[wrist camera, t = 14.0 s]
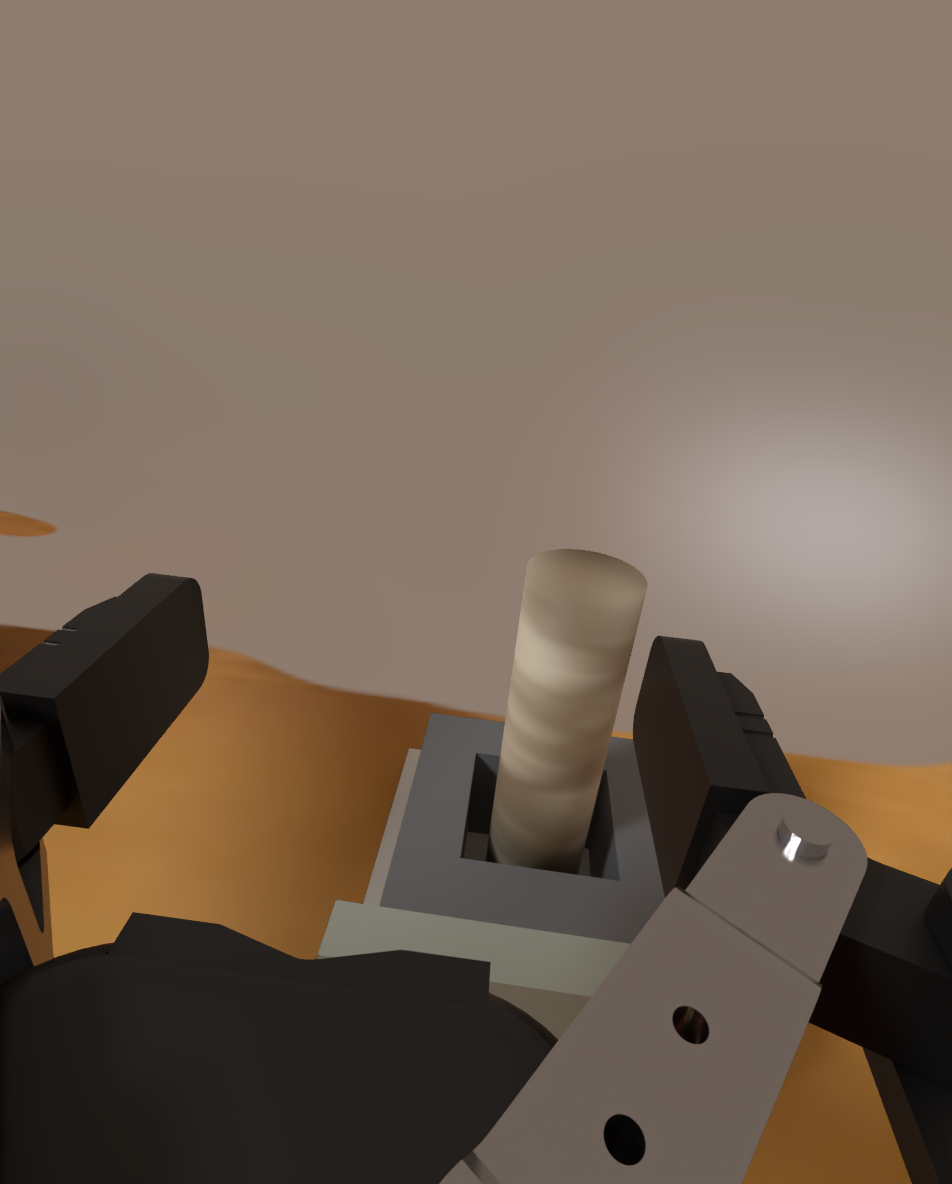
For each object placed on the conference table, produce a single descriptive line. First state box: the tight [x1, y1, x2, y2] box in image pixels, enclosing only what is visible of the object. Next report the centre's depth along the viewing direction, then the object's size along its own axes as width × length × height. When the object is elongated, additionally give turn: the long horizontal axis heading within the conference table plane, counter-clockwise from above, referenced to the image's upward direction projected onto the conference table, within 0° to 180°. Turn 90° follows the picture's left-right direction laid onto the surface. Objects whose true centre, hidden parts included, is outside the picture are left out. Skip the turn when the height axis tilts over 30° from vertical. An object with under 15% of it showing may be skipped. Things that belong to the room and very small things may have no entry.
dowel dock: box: [318, 713, 665, 1040], centre depth 28 cm, size 14×16×6 cm
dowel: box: [485, 549, 647, 875], centre depth 25 cm, size 4×4×16 cm
